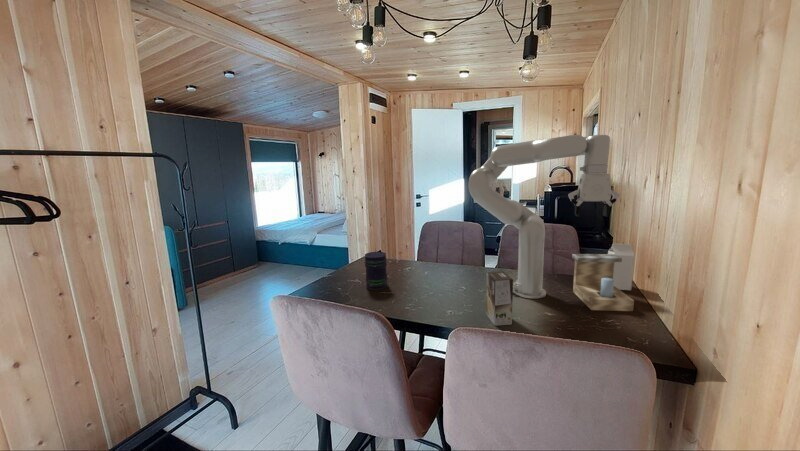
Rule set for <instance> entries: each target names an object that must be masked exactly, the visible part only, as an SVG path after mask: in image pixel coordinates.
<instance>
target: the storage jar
mask: <svg viewBox="0 0 800 451" xmlns="http://www.w3.org/2000/svg"><path fill="white" fill-rule="evenodd" d="M387 262H388V260H387V253H386V252H383V251H370V252H367V253H365V254H364V266H365V283H366V288H367V289H368V290H376V291H377V290H378V291H379V290H383V289H385V288H387V287H388V273H387Z"/></svg>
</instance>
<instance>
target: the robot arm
mask: <svg viewBox="0 0 800 451" xmlns="http://www.w3.org/2000/svg"><path fill="white" fill-rule="evenodd" d="M610 144H611V137H610V135H608V134H594V135H589V136H583V135H581V134H569V135H564V136H563V135H562V136H557V137H551V138H545V139H544V138H543V139H535V140H528V141H522V142H514V143H509V144H507V143H506V144H502V145H498V146H495V147H494V148H493V149H492V150H491V152H490V156H489V157H488V159H487V160H486V161H485V163H484V164H483V165H481V167H478V168H476V169H474V170H473V171H472V172H471V174H470V176H469V178H468V191H469V194H470V196H471V198H472V199H473V200H474V202H476V203H477V204H478V205H479V206H480V207H482V208H483V209H485V210H486V211H487V212H488V213H489V214H491V215H492V216H493V217H495V218H497V220H499V221H500V222H501V223H503V224H505V225H508V226H513V227H515V228H516V229H517V230H518V258H517V259H518V260H517V261H518V264H517V279H516V280H515V281H513V294H514V295H516V296H519V297H521V298H524V299H530V300H531V299H532V300H533V299H535V300H537V299H543V298H545V297H546V296H547V291H546V289H544V288H543V278H544V276H543V275H544V260H545V259H544V258H545V257H544V253H545V252H544V251H545V238H546V229H545V228H546V226H545V222H544V220H543V218H541V217H540V216H539V215H538V214H537V213H535V212H533V211H532V210H531V209H529V208H528V207H526V206H524V205H523V204H522V203H520V202H519V201H517V200H514V199H507V198H506V197H505V196H504V195H502V194H501V193H499V192H498V191H496V190H495V189H494V188H492V187H491V186H492V184H494V182H496V180H497V179H498V178H499V177H500V176H501V175H502V174H503V173H504V171H505V170H506V169H507V168H508V167H511V166H512V167H513V166H520V165H526V164H534V163H539V162H543V161H549V160H556V159H564V158H572V157H580V156H584V163H583V166H581V167H579V171H580V172H582V173H581V175H580V179H579V182H578V187H577V189H575V190H574V191H572V192H569V193H568V195H567V196H568V198H569V200H570V202H571V204H573V205H574V211H573V212H574V215H575V217H577V218H581V216H582V215H581V213H582V212H581V211H582V206H581V204H583V202H602V203H604V205H603V210H602V216H603V217H606V218H608V217H609V216H610V214H611V207H612V206H613V204H615V203H616V202H617V199H618V198H619V197H620V193H619V192H616V191H614V190H612V178H611V174H610V173H608V170H609V168H608V167H609V156H610ZM575 196H577V199H575ZM611 197H612V198H611Z"/></svg>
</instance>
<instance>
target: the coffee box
mask: <svg viewBox="0 0 800 451" xmlns="http://www.w3.org/2000/svg"><path fill="white" fill-rule="evenodd" d="M513 283H514V279H513V278H512V277H511V276H510V275H508V273H506V272H505V271H502V270H501V271H500V270H499V271H497V270H496V271H488V272H487V271H486V295H485V296H486V303H485V304H486V306H485V307H486V310H485V311H486V312H485V313H486V316H487V318H488V319H489V320H490V321H491V323H492V324H493V326H497V327H498V326H510V325H512V324H513V301H514V300H513V298H514V297H513V296H514V289H513Z"/></svg>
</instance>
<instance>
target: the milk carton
mask: <svg viewBox="0 0 800 451" xmlns="http://www.w3.org/2000/svg"><path fill="white" fill-rule="evenodd" d="M607 254H615V255H617V256H619V257H621V258H622V262H614V272H613V280H614V286H615V287H616V288H618V289H619V290H620V291H632V285H633V284H632V283H633V276H634V275H633V274H634V264H635V253H634V250H633V248H632V244H631V243H612V244H611V247H610V248H609V249H608V251H607Z"/></svg>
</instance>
